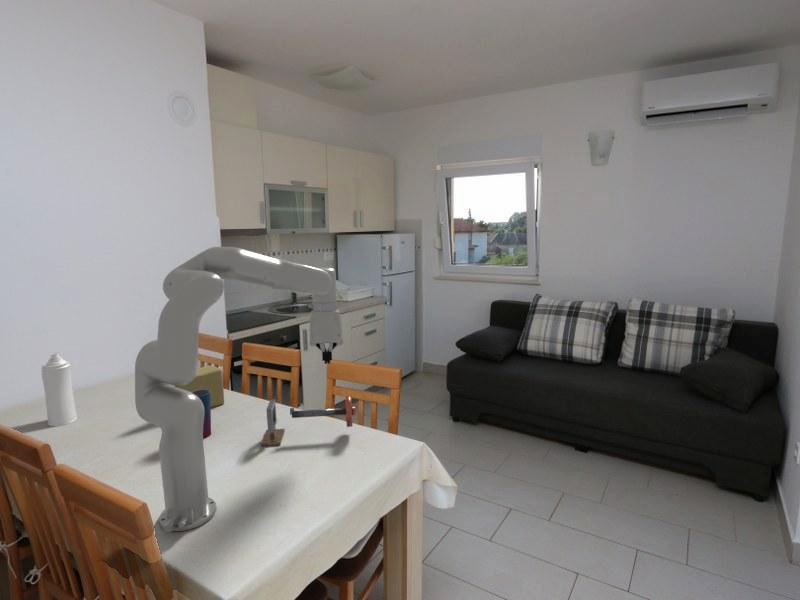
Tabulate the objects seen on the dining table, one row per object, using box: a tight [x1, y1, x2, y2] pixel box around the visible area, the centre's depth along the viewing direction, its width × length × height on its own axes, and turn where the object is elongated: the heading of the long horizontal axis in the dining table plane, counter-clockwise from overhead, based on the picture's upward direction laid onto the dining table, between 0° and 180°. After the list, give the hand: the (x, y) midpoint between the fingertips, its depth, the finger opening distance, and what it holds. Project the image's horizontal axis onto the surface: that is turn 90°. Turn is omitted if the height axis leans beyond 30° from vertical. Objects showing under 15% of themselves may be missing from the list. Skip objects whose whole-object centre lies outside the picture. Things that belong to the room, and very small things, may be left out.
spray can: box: [41, 351, 78, 427], centre depth 169 cm, size 12×11×25 cm
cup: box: [191, 389, 212, 439], centre depth 155 cm, size 7×7×15 cm
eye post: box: [260, 398, 285, 447], centre depth 152 cm, size 10×6×12 cm, turn 6°
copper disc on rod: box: [289, 395, 357, 428], centre depth 153 cm, size 10×21×10 cm, turn 96°
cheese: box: [175, 365, 225, 408], centre depth 176 cm, size 22×10×15 cm, turn 144°
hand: (327, 362), depth 151 cm, fingers closed
